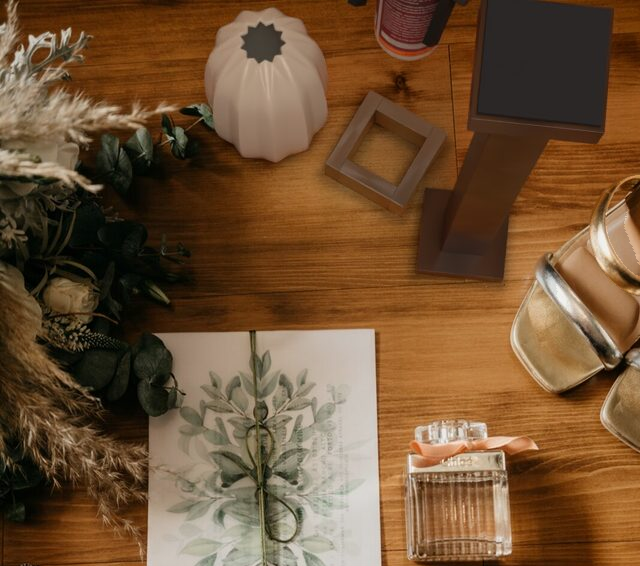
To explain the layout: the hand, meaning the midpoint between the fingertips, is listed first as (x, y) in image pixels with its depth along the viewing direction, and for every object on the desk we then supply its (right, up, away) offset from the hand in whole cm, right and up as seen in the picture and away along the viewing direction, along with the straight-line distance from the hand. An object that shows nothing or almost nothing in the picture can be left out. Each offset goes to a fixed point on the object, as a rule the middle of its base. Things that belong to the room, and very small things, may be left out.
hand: (393, 23), depth 58 cm
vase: (-12, +6, +27) cm, 30 cm away
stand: (+2, +1, +27) cm, 27 cm away
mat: (+11, -6, -5) cm, 13 cm away
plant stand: (+11, -9, +26) cm, 29 cm away
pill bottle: (+2, +3, +5) cm, 6 cm away
